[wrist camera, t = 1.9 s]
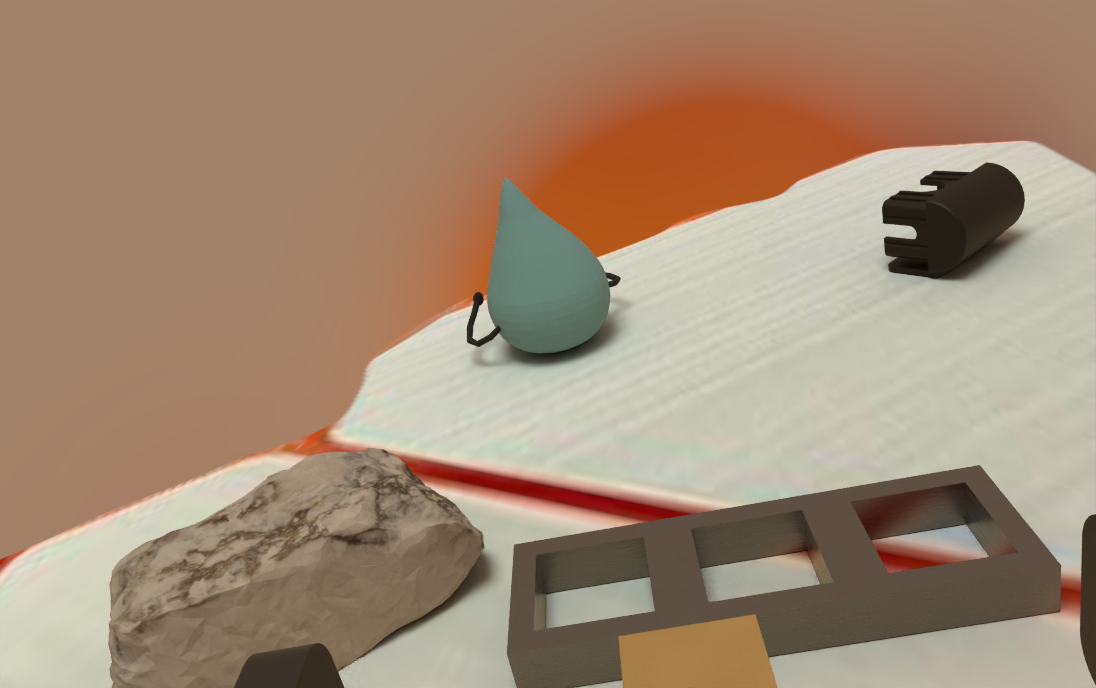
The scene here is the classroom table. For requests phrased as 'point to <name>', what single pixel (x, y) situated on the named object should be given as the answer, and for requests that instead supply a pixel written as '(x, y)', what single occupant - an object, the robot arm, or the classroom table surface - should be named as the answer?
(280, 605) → the decorative stone
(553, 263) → the toy
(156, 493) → the classroom table surface
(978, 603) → the rail
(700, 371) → the classroom table surface
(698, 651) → the golden brown rectangular block
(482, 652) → the classroom table surface
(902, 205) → the end cap
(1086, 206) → the classroom table surface
